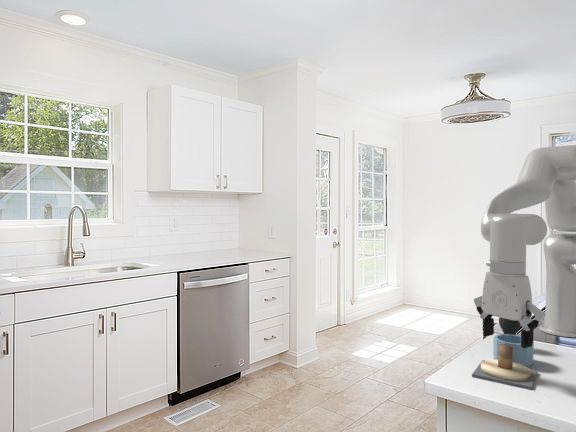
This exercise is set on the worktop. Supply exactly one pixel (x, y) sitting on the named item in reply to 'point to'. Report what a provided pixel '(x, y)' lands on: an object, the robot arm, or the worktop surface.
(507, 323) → the light bulb
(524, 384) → the mat
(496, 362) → the lid
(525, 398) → the worktop surface
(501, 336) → the bowl
